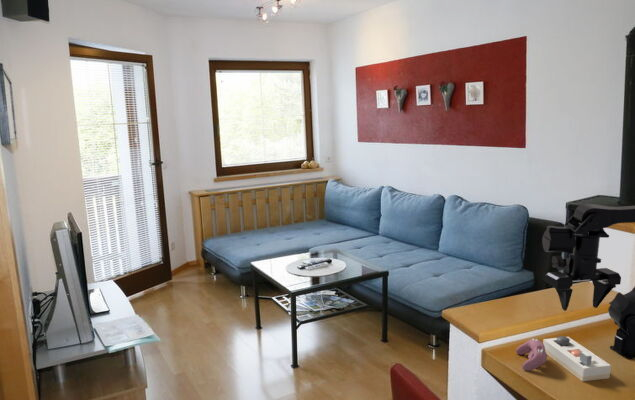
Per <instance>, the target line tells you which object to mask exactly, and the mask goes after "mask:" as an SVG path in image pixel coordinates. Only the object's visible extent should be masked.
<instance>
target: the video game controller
mask: <svg viewBox="0 0 635 400" xmlns="http://www.w3.org/2000/svg"><path fill="white" fill-rule="evenodd" d="M515 353H516V354H517V355H521V356H522V355H526V354H527V355H528V356H527V358H528V360H525V362H523V364H522V366H521V368H522V370H523V371H533V370H535V369H538V368H539V367H541V365H544V364H545V363H546V362H547V360H548V355H547V353H546V352H545V347H544V345H543V342H542V341H541V340H539V339H535V338H534V337H532V338H531V339H528V341H526V342H524V343H522V344H520V345H519V346H517V347H516V349H515Z"/></svg>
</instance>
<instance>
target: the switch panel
mask: <svg viewBox="0 0 635 400" xmlns="http://www.w3.org/2000/svg"><path fill="white" fill-rule="evenodd" d="M566 337H567V338H569V339H570V341H569V346H563V347H561V346H560V345H558V344H557V337H553V338H552V337H551V338H543V342H542V343H543V345H544V347H545V352H546V353H547V356H549V357H550V358H551V359H553V360H554V361H555V362H556V363H557V364H558V365H560V366H562V367H563V368H564V369H565V370H567V371H568V372H570V373H571V374H572V375H574V377H576V378H577V379H578V380H580V381H581V382H588V381H589V382H590V381H596V380H604V379H605V380H606V379H610V375H611V367H612V365H611V364H609V362H606V361H605V360H604V359H603V358H601V357H599V356H597V355H596V354H594V353H593V352H592V351H590V350H589V349H587V348H586V347H585V346H583V345H582V344H580V343H579V342H577V341H576V340H574V339H573V338H570V336H566ZM571 350H580V351H582V352H586V353H588V354H589V355H591V356H592V359H591V365H585V366H583V365H582V362H581V361H580V357H575V356H574V355H572V354H571Z"/></svg>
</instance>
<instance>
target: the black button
mask: <svg viewBox="0 0 635 400" xmlns="http://www.w3.org/2000/svg"><path fill="white" fill-rule="evenodd" d="M567 337H568V336H563V335H559V336H557V337H556V338H557V344H558V345H560V346H561V347H563V346H569V341H570V339H569V338H570V337H569V338H567Z"/></svg>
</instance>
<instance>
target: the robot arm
mask: <svg viewBox="0 0 635 400" xmlns="http://www.w3.org/2000/svg"><path fill="white" fill-rule="evenodd" d="M629 223H630V224H631V223H635V205H625V206H624V205H622V206H608V205H601V204H597V203H596V204H594V203H581V204H579V205H578V206H577V207H576V208H575V210H574V212H573V214H572V216H571V217H570V218H569V219H568V220H567V221H566V222H565V223H564V224H563V226H555V225H547V226H546V230H545V231H544V233H543V235H542V238H541V239H542V240H541V241H542V248H543V251H544V252H545V253H569V255H568V257H567V258H563V257H562V255H553V256H551V266H552V268H557V271H551V272H550V271H549V272H547V273H546V274H545V277H544V283H546V284H548V285H549V286H551V287H553V288H554V289H555V290H556V293H557V295H558V296H557V297H558V299H559V302H560V305H561V309H562V310H563V311H565V312H566V311H567V310H568V307H569V306H570V305H569V304H570V301H571V297H572V295H573V289H572V288H571V287H573V283H585V282H592V284H593V295H592V307H593V308H594V309H598V308H599V306H600V305H601V303H602V302H603V300H605V298H606V297H607V295H608V294H609V293H610V292H611V291H612V290H613V289H615V288H616V287H617V285H621V282H622V277H621V275H620V273H619V272H617V271H614V270H612V269H610V268H607V267H605V268H604V267H602V268H601V267H600V268H597V267H598V264H601V263H602V258H600V257H599V247H600V239H601V238H606V239H607V238H610V234H608V233H607V232H606V231H605V229H606V228H609V227H611V226H614V225H618V224H629ZM571 252H572V253H571ZM562 271H565V273H567V274H565V273H564V272H562ZM608 304H609V307H608V309H607V310H608V315H609V317H610V318H611V319H612V320H613V323H614V324H615V325H616V326H617V327H618V328H617V329H616V331H615V332H616V333H615V335H614V340H613V342H614V343H613V345H610V346H609V349H611V350H612V351H614V352H616V353H617V354H619V355H621V356H622V357H624V358H625V359H627V360H632V359H635V286H634V287H633V288H632V289H631V290H630V291H629V292H627V293H625V294H622V293H621V292H617V294H616V295H615V297H614V298H613V299H612V300H611V301H609V303H608Z"/></svg>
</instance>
